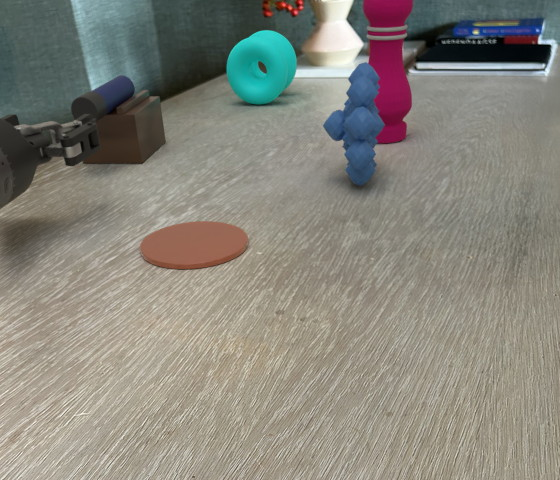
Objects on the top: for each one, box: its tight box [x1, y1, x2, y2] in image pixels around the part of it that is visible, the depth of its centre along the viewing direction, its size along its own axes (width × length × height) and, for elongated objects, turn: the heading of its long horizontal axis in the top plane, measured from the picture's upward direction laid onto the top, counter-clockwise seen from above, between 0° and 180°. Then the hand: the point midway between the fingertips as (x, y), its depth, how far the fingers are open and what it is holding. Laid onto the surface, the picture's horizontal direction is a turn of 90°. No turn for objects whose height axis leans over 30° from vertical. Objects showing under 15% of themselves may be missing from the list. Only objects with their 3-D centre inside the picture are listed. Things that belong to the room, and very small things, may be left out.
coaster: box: [139, 220, 249, 270], centre depth 62 cm, size 10×10×1 cm
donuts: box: [226, 29, 298, 106], centre depth 110 cm, size 10×10×10 cm
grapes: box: [322, 61, 385, 186], centre depth 73 cm, size 12×7×12 cm, turn 171°
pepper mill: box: [362, 0, 414, 144], centre depth 85 cm, size 7×7×20 cm
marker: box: [70, 75, 136, 122], centre depth 83 cm, size 13×3×3 cm, turn 170°
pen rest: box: [73, 89, 167, 165], centre depth 88 cm, size 10×8×7 cm
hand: (53, 124), depth 71 cm, fingers open, 8 cm apart
